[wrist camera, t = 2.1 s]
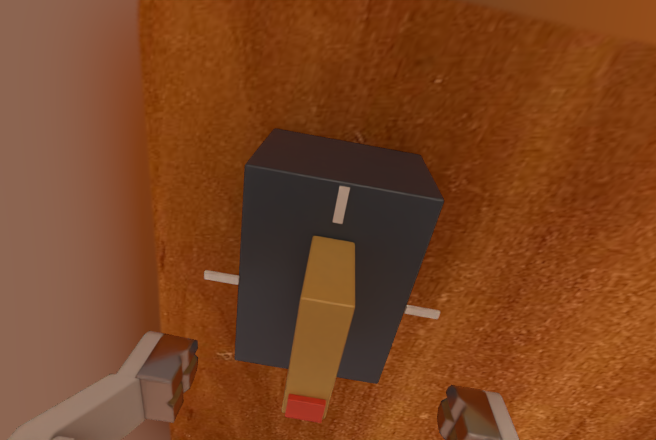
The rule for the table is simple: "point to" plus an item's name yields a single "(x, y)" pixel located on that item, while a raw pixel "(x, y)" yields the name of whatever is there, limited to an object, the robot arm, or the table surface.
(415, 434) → the table surface
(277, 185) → the plate
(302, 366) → the lock knob
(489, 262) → the table surface
